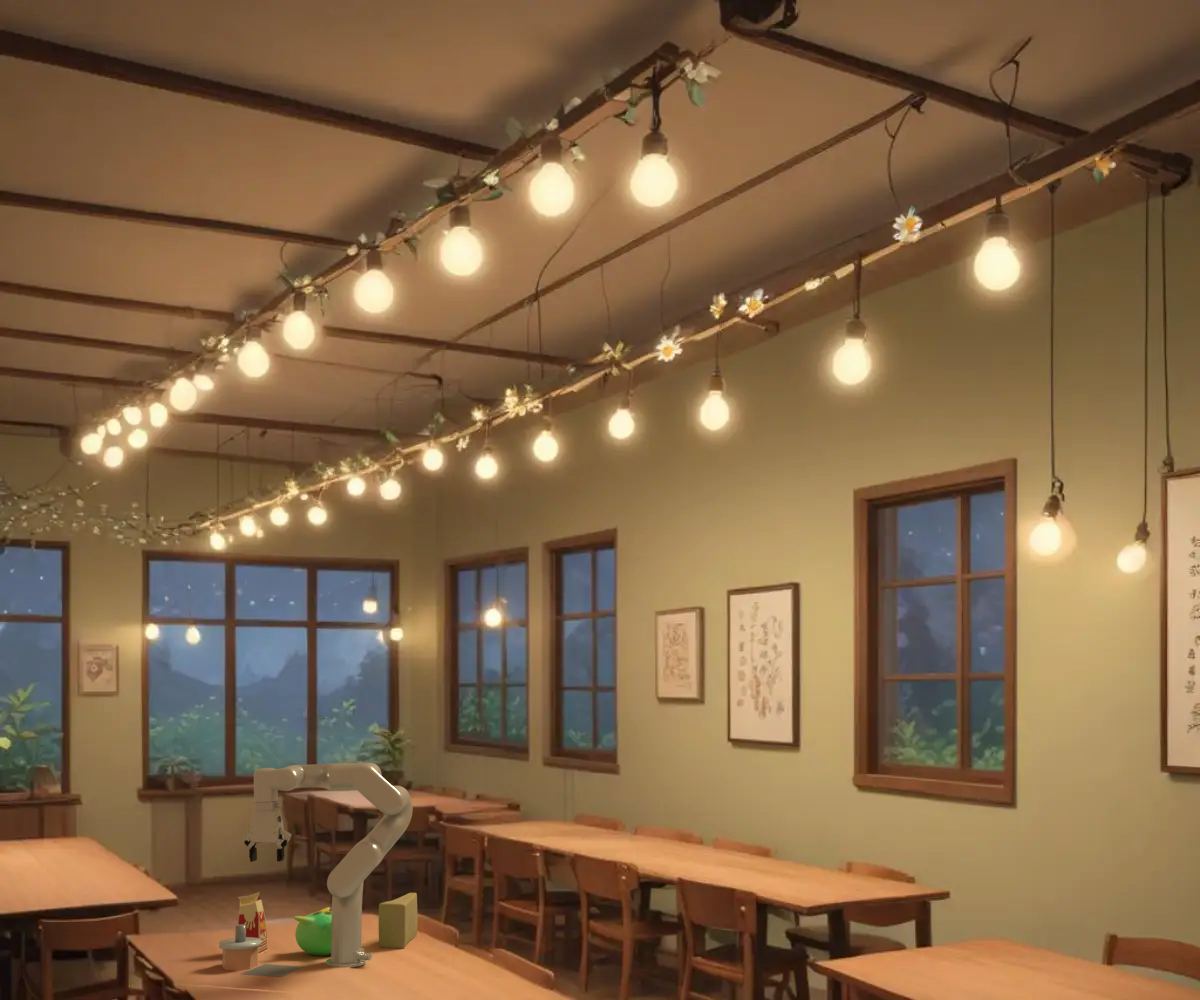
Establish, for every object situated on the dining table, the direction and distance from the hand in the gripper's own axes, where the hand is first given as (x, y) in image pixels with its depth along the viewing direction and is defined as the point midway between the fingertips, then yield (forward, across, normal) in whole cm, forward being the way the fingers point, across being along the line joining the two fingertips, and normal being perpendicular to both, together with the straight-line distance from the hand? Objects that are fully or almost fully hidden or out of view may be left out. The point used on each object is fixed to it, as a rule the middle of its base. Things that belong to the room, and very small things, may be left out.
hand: (266, 860), depth 425 cm
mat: (+33, -6, +9) cm, 34 cm away
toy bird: (+33, -10, -17) cm, 39 cm away
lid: (+25, +6, +6) cm, 27 cm away
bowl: (+32, +6, +6) cm, 33 cm away
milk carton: (+32, +14, -13) cm, 37 cm away
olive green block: (+34, -28, -43) cm, 61 cm away
